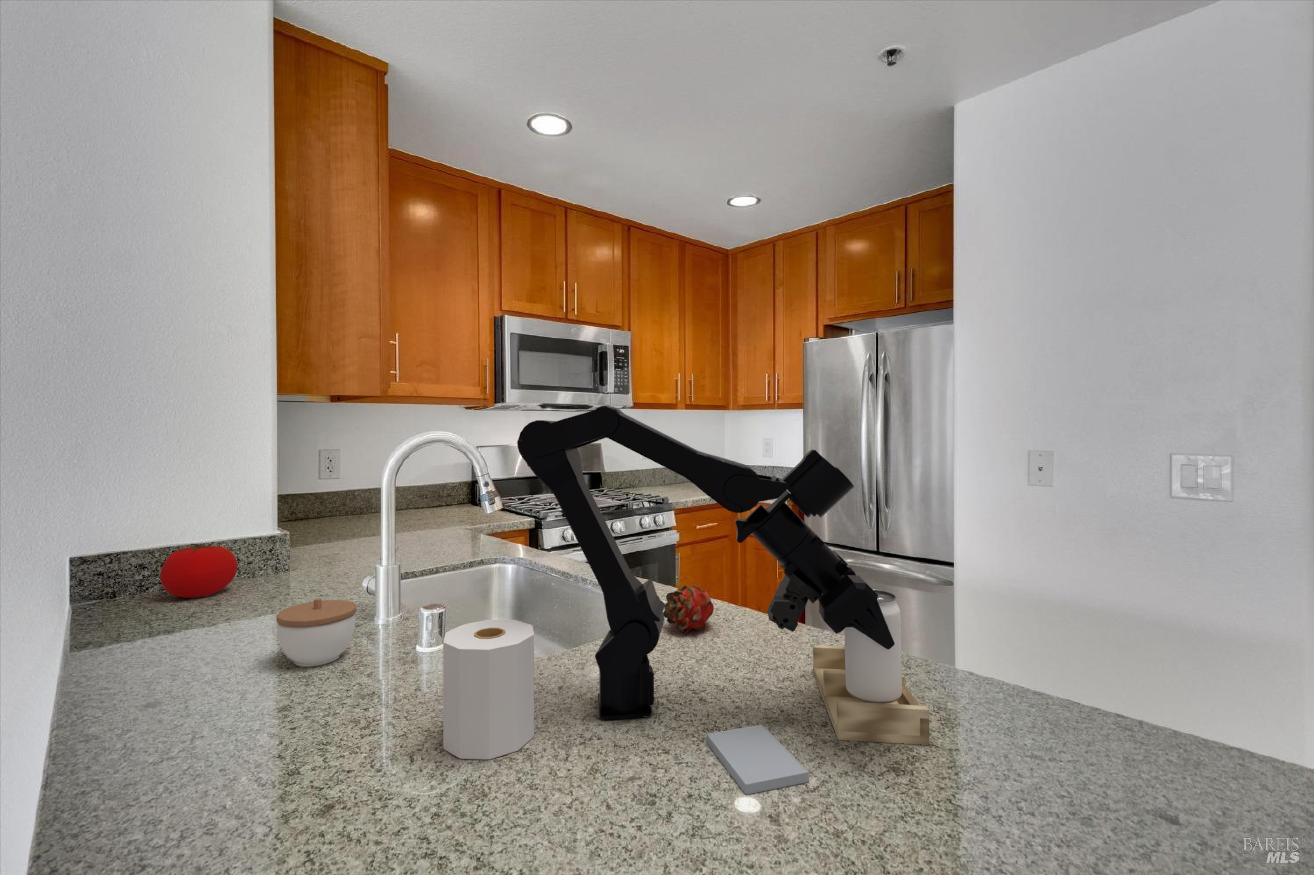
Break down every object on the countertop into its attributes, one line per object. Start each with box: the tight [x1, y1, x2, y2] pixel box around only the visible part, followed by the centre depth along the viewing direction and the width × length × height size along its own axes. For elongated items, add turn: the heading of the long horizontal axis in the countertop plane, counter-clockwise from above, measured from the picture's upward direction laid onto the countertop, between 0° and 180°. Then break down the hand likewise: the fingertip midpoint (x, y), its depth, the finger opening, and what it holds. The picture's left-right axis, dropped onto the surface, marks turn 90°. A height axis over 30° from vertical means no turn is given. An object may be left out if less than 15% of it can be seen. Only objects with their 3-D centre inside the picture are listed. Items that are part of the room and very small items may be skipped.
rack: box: [812, 644, 930, 746], centre depth 76 cm, size 10×19×4 cm, turn 174°
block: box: [706, 724, 810, 796], centre depth 63 cm, size 7×10×1 cm
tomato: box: [159, 543, 239, 599], centre depth 126 cm, size 12×13×11 cm
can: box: [843, 588, 903, 704], centre depth 71 cm, size 6×6×12 cm
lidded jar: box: [276, 597, 357, 668], centre depth 90 cm, size 11×11×9 cm
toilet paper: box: [442, 619, 535, 760], centre depth 68 cm, size 10×10×12 cm
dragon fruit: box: [663, 584, 715, 634], centre depth 105 cm, size 8×8×12 cm
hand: (883, 636), depth 71 cm, fingers closed on can, 6 cm apart
